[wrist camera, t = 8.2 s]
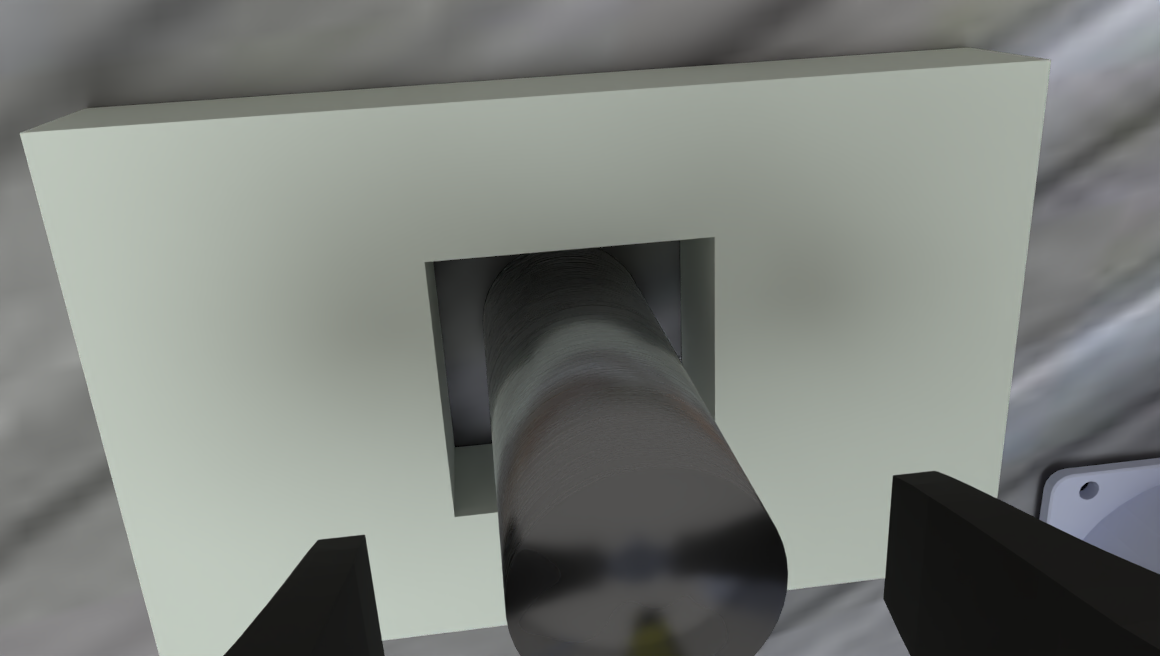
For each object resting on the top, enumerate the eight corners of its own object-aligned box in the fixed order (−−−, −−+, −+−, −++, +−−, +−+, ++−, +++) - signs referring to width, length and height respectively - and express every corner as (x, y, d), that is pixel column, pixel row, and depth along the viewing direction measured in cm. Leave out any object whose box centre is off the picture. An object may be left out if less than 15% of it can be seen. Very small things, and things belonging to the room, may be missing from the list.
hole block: (968, 47, 20) (1051, 59, 17) (926, 496, 24) (988, 565, 21) (86, 108, 18) (19, 132, 15) (199, 580, 22) (162, 667, 19)
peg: (647, 242, 21) (804, 464, 11) (637, 392, 22) (771, 701, 13) (483, 241, 20) (506, 472, 11) (482, 394, 21) (502, 716, 12)
